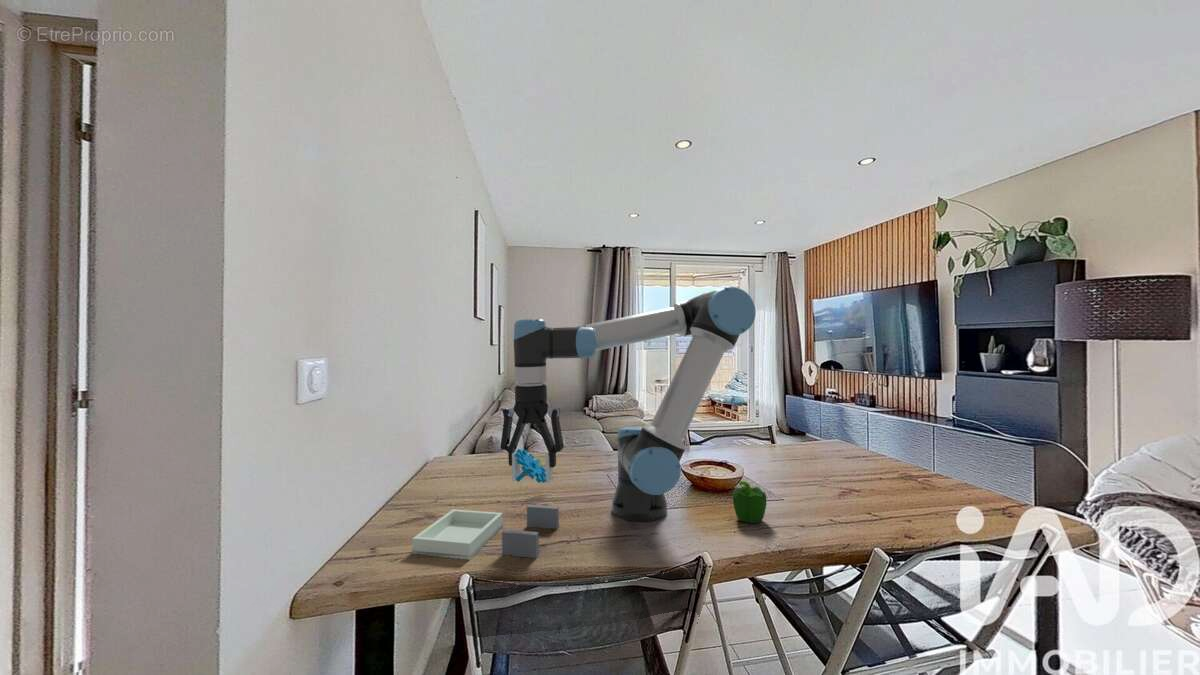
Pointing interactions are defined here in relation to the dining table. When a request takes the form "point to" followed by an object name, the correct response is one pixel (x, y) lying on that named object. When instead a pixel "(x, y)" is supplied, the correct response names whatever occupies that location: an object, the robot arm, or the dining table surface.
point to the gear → (530, 466)
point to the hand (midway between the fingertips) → (532, 479)
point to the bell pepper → (749, 503)
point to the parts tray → (458, 534)
